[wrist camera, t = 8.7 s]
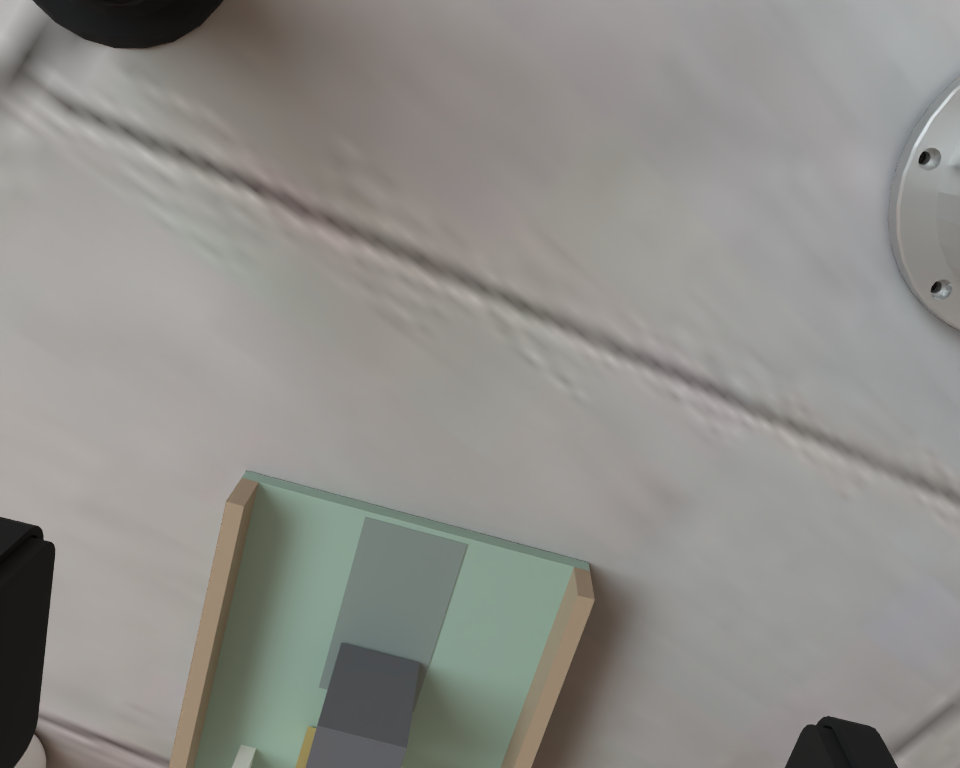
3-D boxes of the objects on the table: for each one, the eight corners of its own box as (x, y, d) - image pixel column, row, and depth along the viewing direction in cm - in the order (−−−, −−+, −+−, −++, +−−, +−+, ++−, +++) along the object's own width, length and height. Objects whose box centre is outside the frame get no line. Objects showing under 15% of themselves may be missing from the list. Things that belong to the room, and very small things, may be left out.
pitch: (588, 562, 44) (595, 600, 40) (475, 866, 50) (473, 918, 47) (246, 470, 42) (226, 501, 39) (175, 792, 49) (152, 841, 46)
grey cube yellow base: (429, 665, 45) (418, 751, 39) (396, 767, 47) (381, 863, 41) (331, 640, 44) (305, 722, 39) (303, 744, 46) (274, 837, 41)
